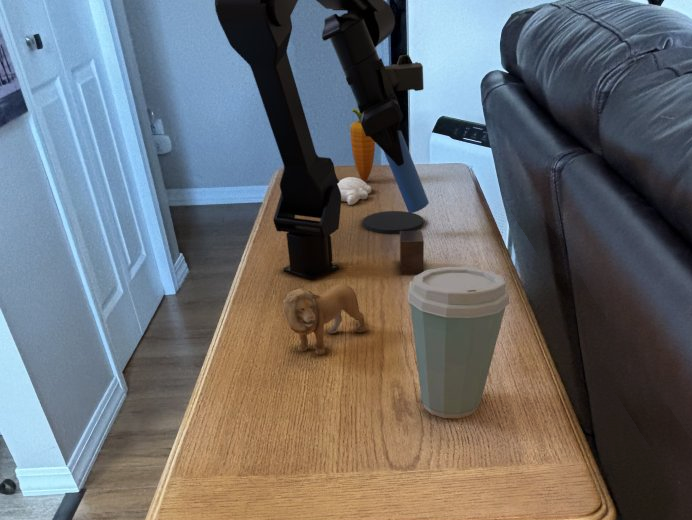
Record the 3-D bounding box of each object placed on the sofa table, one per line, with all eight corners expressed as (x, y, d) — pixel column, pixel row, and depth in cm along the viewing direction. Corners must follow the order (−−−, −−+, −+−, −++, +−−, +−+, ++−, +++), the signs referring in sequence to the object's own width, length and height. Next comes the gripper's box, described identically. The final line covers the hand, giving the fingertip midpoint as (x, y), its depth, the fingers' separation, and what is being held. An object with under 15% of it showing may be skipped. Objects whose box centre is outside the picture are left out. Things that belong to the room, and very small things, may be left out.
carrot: (375, 185, 154) (373, 103, 144) (352, 185, 154) (348, 103, 144) (376, 178, 158) (374, 98, 148) (353, 179, 158) (349, 98, 148)
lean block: (401, 274, 115) (400, 241, 112) (400, 262, 119) (399, 231, 116) (423, 273, 115) (423, 241, 112) (421, 262, 119) (421, 230, 116)
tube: (362, 196, 123) (386, 126, 117) (362, 190, 126) (385, 122, 120) (423, 220, 126) (449, 153, 120) (421, 214, 129) (447, 148, 123)
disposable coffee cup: (397, 388, 87) (395, 261, 78) (483, 377, 89) (492, 252, 80) (419, 435, 79) (420, 300, 70) (514, 422, 81) (527, 289, 72)
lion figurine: (313, 370, 91) (306, 299, 85) (278, 360, 93) (269, 291, 87) (374, 325, 101) (372, 259, 95) (342, 317, 103) (337, 252, 97)
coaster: (398, 237, 128) (398, 234, 128) (350, 225, 134) (350, 222, 133) (435, 221, 135) (435, 218, 135) (388, 210, 140) (388, 207, 140)
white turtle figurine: (317, 203, 145) (315, 186, 143) (339, 186, 153) (338, 170, 151) (358, 206, 142) (358, 189, 141) (379, 189, 151) (378, 173, 149)
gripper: (412, 41, 104) (452, 152, 113) (403, 28, 118) (439, 127, 128) (341, 79, 106) (386, 184, 115) (341, 62, 121) (381, 157, 130)
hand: (400, 161), depth 122 cm, fingers closed on tube, 4 cm apart
